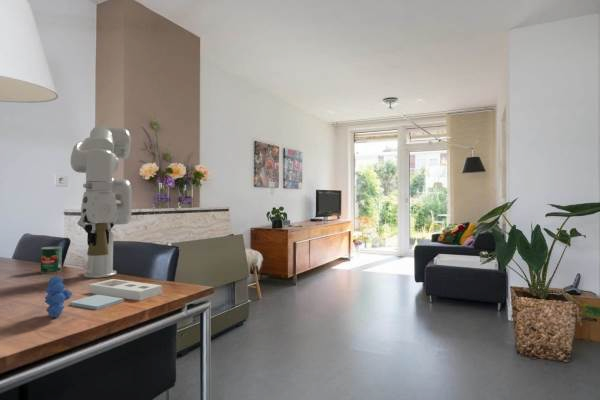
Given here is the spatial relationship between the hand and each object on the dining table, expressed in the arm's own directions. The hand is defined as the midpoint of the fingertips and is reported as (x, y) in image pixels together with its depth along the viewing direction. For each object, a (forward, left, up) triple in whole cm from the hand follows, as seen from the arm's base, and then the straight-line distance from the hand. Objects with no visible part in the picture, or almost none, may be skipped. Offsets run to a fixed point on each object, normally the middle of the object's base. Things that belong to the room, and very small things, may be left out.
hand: (98, 244), depth 118 cm
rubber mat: (0, 0, -19) cm, 19 cm away
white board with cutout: (-2, +13, -19) cm, 23 cm away
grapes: (+2, -14, -19) cm, 24 cm away
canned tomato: (-62, +27, -19) cm, 70 cm away
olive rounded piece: (0, 0, -3) cm, 3 cm away
